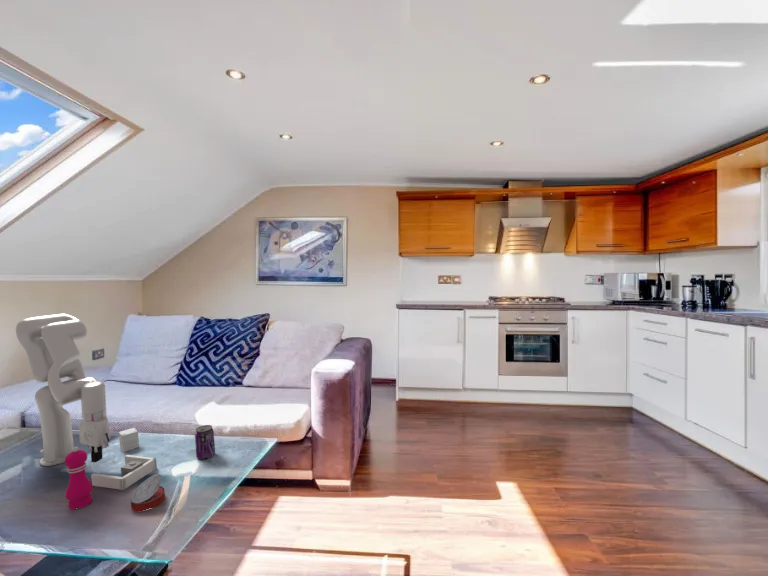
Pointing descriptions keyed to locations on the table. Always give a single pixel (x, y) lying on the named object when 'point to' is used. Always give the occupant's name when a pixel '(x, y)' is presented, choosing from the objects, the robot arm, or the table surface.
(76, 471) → the pepper mill
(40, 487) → the table surface
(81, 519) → the table surface
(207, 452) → the beverage can
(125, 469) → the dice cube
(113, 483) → the box
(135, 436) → the skincare box
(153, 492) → the canned food
